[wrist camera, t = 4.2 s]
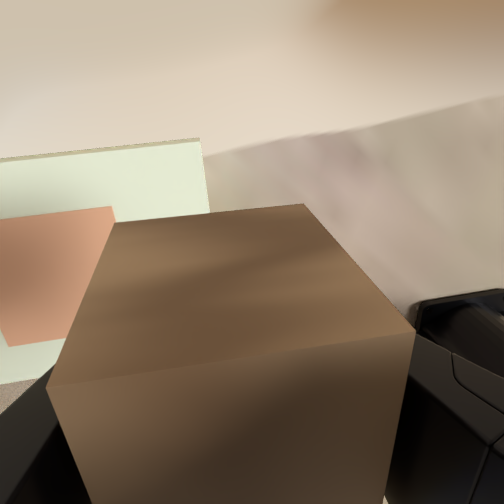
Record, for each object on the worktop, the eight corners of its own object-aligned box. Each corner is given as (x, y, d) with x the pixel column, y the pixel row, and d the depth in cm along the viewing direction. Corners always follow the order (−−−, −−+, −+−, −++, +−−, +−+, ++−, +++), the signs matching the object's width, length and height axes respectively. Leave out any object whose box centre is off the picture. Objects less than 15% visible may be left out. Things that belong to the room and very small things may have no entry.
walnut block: (303, 203, 9) (416, 330, 5) (300, 345, 11) (377, 526, 7) (114, 222, 9) (45, 387, 4) (147, 369, 11) (124, 583, 6)
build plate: (199, 137, 18) (200, 141, 17) (225, 335, 23) (227, 347, 22) (-173, 176, 16) (-196, 183, 15) (-50, 381, 22) (-62, 396, 21)
